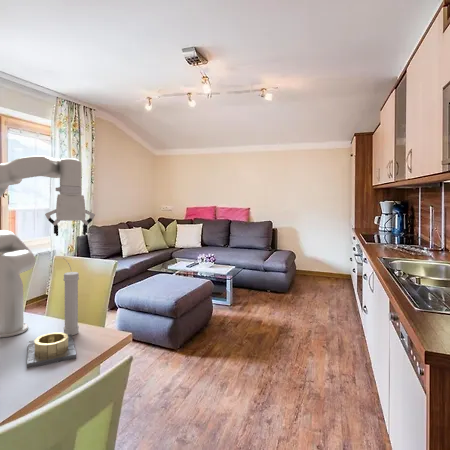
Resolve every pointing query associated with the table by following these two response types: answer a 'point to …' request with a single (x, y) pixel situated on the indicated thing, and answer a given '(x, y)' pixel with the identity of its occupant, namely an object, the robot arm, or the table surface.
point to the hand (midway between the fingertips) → (70, 235)
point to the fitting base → (50, 349)
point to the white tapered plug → (71, 302)
